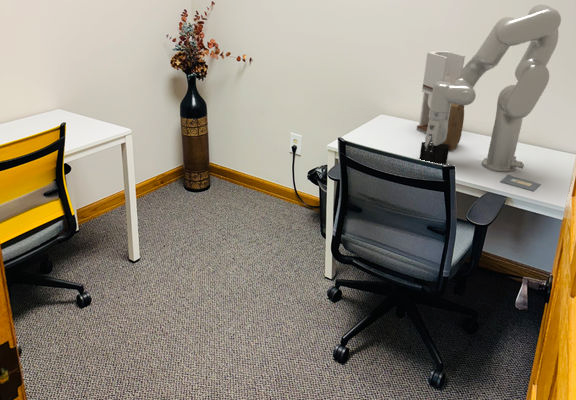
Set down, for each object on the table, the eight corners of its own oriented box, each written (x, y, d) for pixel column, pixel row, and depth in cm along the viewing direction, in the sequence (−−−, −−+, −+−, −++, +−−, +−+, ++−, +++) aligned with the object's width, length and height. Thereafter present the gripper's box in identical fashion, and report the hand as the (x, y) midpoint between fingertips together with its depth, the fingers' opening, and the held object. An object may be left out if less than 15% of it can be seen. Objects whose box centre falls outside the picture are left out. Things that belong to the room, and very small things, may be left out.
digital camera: (445, 159, 218) (448, 143, 215) (446, 164, 213) (449, 147, 210) (419, 156, 220) (421, 140, 217) (419, 161, 215) (422, 145, 212)
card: (540, 184, 198) (540, 183, 198) (533, 191, 193) (533, 190, 193) (507, 175, 205) (507, 174, 205) (500, 182, 200) (500, 180, 199)
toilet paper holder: (416, 129, 250) (427, 52, 235) (434, 126, 255) (446, 50, 239) (433, 137, 241) (445, 57, 226) (451, 134, 246) (465, 55, 230)
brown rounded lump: (449, 152, 225) (457, 105, 216) (433, 148, 229) (440, 101, 221) (461, 146, 232) (469, 100, 224) (445, 141, 237) (453, 96, 228)
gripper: (438, 121, 200) (431, 167, 208) (457, 111, 212) (450, 154, 220) (419, 117, 204) (413, 161, 212) (439, 107, 216) (432, 150, 224)
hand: (432, 157), depth 216 cm, fingers closed on digital camera, 6 cm apart
